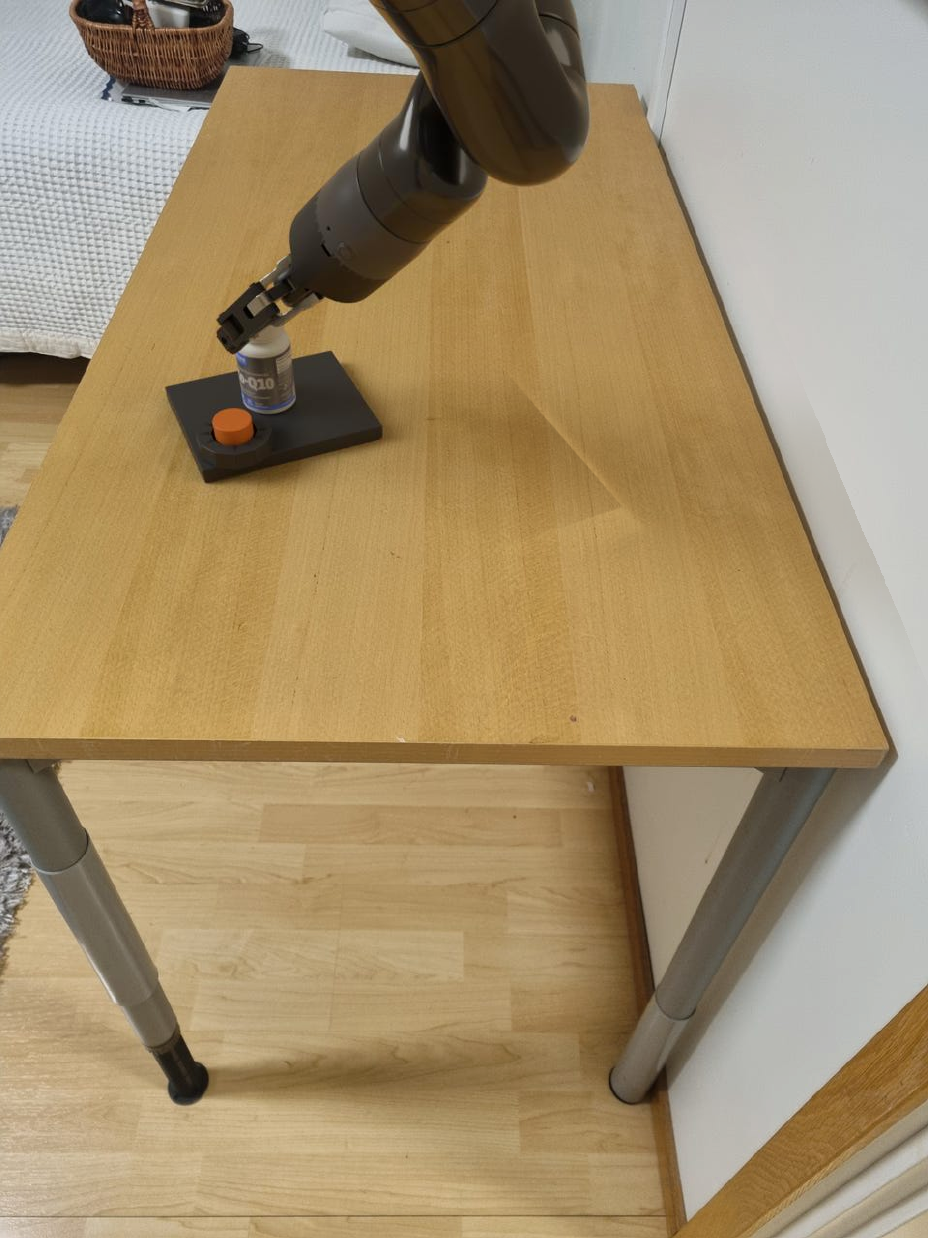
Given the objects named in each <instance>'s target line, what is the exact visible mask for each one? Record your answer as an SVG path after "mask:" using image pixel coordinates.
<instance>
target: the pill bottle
mask: <svg viewBox="0 0 928 1238" xmlns="http://www.w3.org/2000/svg"><path fill="white" fill-rule="evenodd" d="M280 313H281V314H283V312H282V311H281V310H280ZM234 355H235V360H236V361H235V362H236V366H237V371H238V374H239V379H240V386H241V392H242V398H243V402H244V404H245V406H246V407H247V408H248V409H250V410H252V411H254V412H257V413H261V414H276V413H280V412H283V411H285V410H286V409H288V408H289V407H291V406H292V405H293V403H294V402H295V399H296V394H295V385H294V376H293V366H292V359H293V357H292V348H291V339H290V336H289V334H288V332H287V331H286V330H285V324H284V325H283V326H280V327H274V326H270V327H269V328H267V329H266V330H265V331H263V332H262V333H261V334H259V337H258V338H257V339H255V340H254V339H252V340H251V341H250V342H249V343H248V344H247V345H246V346H245V347H244V348H243V349H241V350H240V351H239V352H237V353H235V354H234Z"/></svg>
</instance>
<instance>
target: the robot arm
mask: <svg viewBox="0 0 928 1238" xmlns="http://www.w3.org/2000/svg"><path fill="white" fill-rule="evenodd" d="M368 2H369V3H370V4H371V5H372V7H373V8H374V9H375V10H376V12H378V14H379V15H380V16H381V17H382V18H383V20H384V21H385V22H386V23H387V25H388V26H389V27H390V28H391V30H392V31H393V32H394V34H396V36H397V37H398V38H399V39H400V40H401V41H402V42H403V43H404V44H405V46H407V47H408V49H409V50H410V51H411V53H412V55H413V57H414V59H415V60H416V63H417V64H418V66H419V71H418V73H417V75H416V77H415V78H414V80H413V82H412V84H411V86H410V88H409V91H408V93H407V95H406V98H405V100H404V103H403V105H402V107H401V109H400V110H399V112H398V114H396V116H394V117H393V118H392V119H391V120H390V121H389V122H388V124H386V125H385V126H384V127H383V128H382V129H381V130H380V131H379V132H378V134H377V135H375V136H374V138H373V139H372V140H371V141H370V142H369V143H367V145H366V146H365V147H364V148H363V149H362V150H360V151H359V152H358V153H356V154H355V155H353V156H351V157H350V158H349V159H348V160H346V162H345V163H343V164H342V165H341V166H340V167H339V168H338V169H337V170H336V171H335V173H334V174H332V176H331V177H330V178H329V179H328V180H327V181H326V182H325V183H324V184H323V185H322V186H321V187H320V188H319V190H318V191H317V192H315V194H314V195H313V196H312V197H311V198H310V199H308V200H307V202H305V204H304V205H303V206H302V207H301V208H300V209H299V211H298V212H297V213H296V214H295V215H294V217H293V219H292V221H291V223H290V225H289V226H290V227H289V231H288V245H289V253H288V254H287V255H285V256H284V257H282V259H280V260H278V261H277V263H276V265H275V268H274V269H273V270H272V271H271V272H269V273H268V274H266V275H265V276H264V277H263V278H261V279H260V280H259V281H256V282H255V281H254V282H252V283H250V284H249V286H248V288H247V289H246V290H245V291H244V292H243V293H242V294H241V295H240V296H239V297H238V298H237V299H235V301H233V303H231V305H229V307H228V308H227V309H225V311H222V312H221V313H220V314H218V317H217V318H216V319H215V320H216V323H218V325H219V326H220V327H219V328H218V329H217V330H216V338H217V339H218V341H219V342H220V343H221V345H222V347H223V348H224V349H225V351H226V352H227V353H229V354H231V355H235V353H237V352H239V351H240V350H241V349H243V348H244V347H245V346H246V345H247V344H248V343H249V342H250V341H251V340H252V339H254V340H255V339H257V338H258V337H259V334H261V333H262V332H263V331H265V330H266V329H267V328H269V327H270V326H274V327H280V326H283V325H284V326H285V325H286V324H288V322H290V321H291V320H293V319H294V318H295V317H297V316H298V315H299V314H301V313H302V312H304V311H306V310H310V309H312V308H315V307H316V306H317V305H319V304H320V303H321V302H323V301H324V300H325V299H328V300H331V301H333V302H336V303H340V304H356V303H360V302H362V301H364V300H366V299H367V298H369V297H370V296H371V295H372V294H374V293H375V292H376V291H378V289H380V288H381V287H382V286H383V285H386V283H388V282H389V281H390V280H391V279H392V278H393V277H395V276H396V275H397V274H398V273H400V272H401V271H402V270H404V269H405V268H406V267H407V266H409V264H411V263H412V262H413V261H414V260H416V258H418V257H419V256H420V255H422V253H423V252H424V251H425V250H426V249H427V247H428V246H429V245H430V244H431V242H433V240H434V239H436V238H437V237H438V236H439V235H440V234H442V233H443V232H444V231H445V230H447V229H448V228H449V227H450V226H451V225H453V224H454V223H455V222H456V221H458V220H459V219H460V218H461V217H462V216H464V215H465V214H466V213H467V212H469V211H470V209H472V208H473V207H474V206H475V205H476V204H477V203H478V202H479V201H480V199H481V197H482V195H483V193H484V192H485V190H486V188H487V185H488V181H489V180H488V179H489V177H490V178H492V179H494V180H496V181H497V182H500V183H502V184H505V185H509V186H514V187H521V188H526V187H527V188H530V187H537V186H542V185H545V184H548V183H551V182H553V181H555V180H557V179H559V178H560V177H562V176H563V175H565V174H566V173H567V172H568V171H569V170H570V169H571V168H572V167H573V166H574V165H575V164H576V162H577V161H578V160H579V158H580V157H581V155H582V154H583V151H584V149H585V147H586V144H587V142H588V139H589V135H590V129H591V104H590V98H589V89H588V85H587V77H586V70H585V65H584V59H583V51H582V44H581V37H580V30H579V24H578V18H577V14H576V10H575V7H574V4H573V1H572V0H368ZM272 284H273V286H271V285H272ZM269 286H271V287H270V288H268V287H269ZM280 301H281V302H282V303H283V305H284V306H286V307H287V308H290V309H289V310H287V311H286V312H285V313H282V314H281V313H280V311H281V309H280V308H279V306H278V305H277V303H278V302H280Z"/></svg>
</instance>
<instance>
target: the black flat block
mask: <svg viewBox="0 0 928 1238" xmlns="http://www.w3.org/2000/svg"><path fill="white" fill-rule="evenodd" d="M292 366H293V376H294V385H295V394H296V399H295V402H294V403H293V405H292V406H291V407H289V408H288V409H286V410H285V411H283V412H280V413H276V414H261V413H257V412H254V411H252V410H250V409H248V408H247V407H246V406H245V404H244V402H243V398H242V392H241V386H240V379H239V374H238V370H235V371H231V372H225V373H221V374H217V375H212V376H208V377H202V378H199V379H193V380H188V381H185V382H179V383H175V384H171V385H167V386H164V389H165V393H166V397H167V398H166V399H167V401H168V403H169V406H170V408H171V410H172V412H173V414H174V416H175V417H174V418H176V421H177V423H178V425H179V428H180V431H181V432H182V434H183V437H184V439H185V441H186V444H187V447H188V448H189V450H190V453H191V455H192V457H193V459H194V461H195V464H196V467H197V468H198V471H199V473H200V475H201V478H202V479H203V482H204V484H207V483H208V484H209V483H211V482H215V481H219V480H223V479H228V478H232V477H235V476H239V475H243V474H247V473H251V472H255V471H258V470H262V469H267V468H270V467H276V466H278V465H283V464H286V463H291V462H294V461H298V460H303V459H306V458H311V457H314V456H318V455H321V454H327V453H330V452H333V451H337V450H341V449H345V448H349V447H353V446H358V445H361V444H365V443H369V442H373V441H376V440H381V439H383V425H382V423H381V422H380V420H379V419H378V417H377V416H376V415H375V413H374V412H373V410H372V408H371V407H370V405H369V404H368V403H367V401H366V400H365V397H363V395H362V394H361V392H360V391H359V389H358V388H357V385H355V383H354V382H353V381H352V379H351V378H350V375H348V372H347V371H346V370H345V368H344V367H343V366H342V364H341V363H340V361H339V360H338V358H337V357H336V355H335V353H334V352H333V350H326V351H322V352H317V353H313V354H308V355H304V356H299V357H294V358H292ZM231 408H237V409H242V410H245V411H247V412H248V413H249V414H250V415H251V417H252V423H253V430H254V435H253V438H252V439H251V440H250V441H248V442H247V443H244V444H239V445H235V446H234V445H223V444H221V443H219V442H218V441H217V440H216V438H215V433H214V428H213V423H212V420H213V418H214V416H215V415H216V414H217V413H219V412H220V411H222V410H226V409H231Z"/></svg>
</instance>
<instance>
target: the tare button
mask: <svg viewBox="0 0 928 1238" xmlns="http://www.w3.org/2000/svg"><path fill="white" fill-rule="evenodd" d="M212 423H213V428H214V433H215V438H216V440H217V441H218V442H219V443H221V444H223V445H234V446H235V445H239V444H244V443H247V442H248V441H250V440H251V439H252V438H253V435H254V430H253V423H252V417H251V415H250V414H249V413H248V412H247V411H245V410H242V409H237V408H231V409H226V410H222V411H220V412H219V413H217V414H216V415H215V416H214V418H213V420H212Z"/></svg>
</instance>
